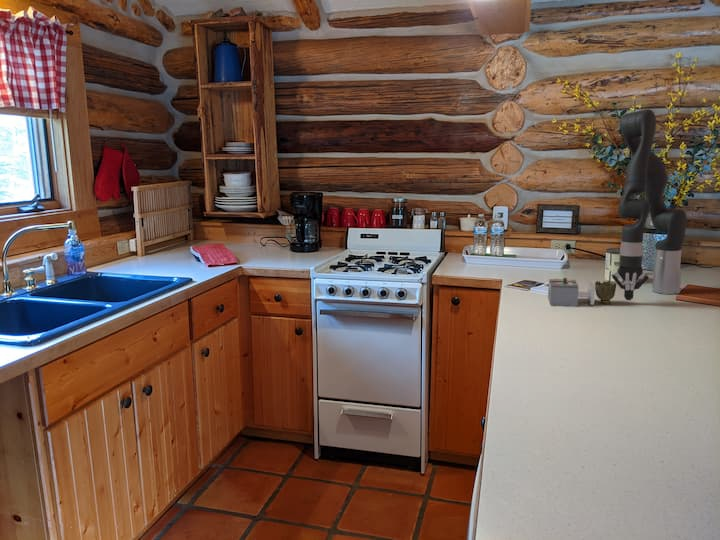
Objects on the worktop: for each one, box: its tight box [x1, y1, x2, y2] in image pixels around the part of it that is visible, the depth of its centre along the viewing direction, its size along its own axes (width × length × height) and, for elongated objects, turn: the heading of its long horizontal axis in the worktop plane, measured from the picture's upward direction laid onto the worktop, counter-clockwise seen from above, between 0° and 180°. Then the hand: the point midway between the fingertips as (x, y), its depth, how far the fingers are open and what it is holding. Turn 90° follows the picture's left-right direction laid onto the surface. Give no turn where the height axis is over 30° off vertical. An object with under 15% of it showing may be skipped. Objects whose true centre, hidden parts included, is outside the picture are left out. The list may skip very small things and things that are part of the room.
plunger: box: [565, 277, 596, 306], centre depth 220 cm, size 10×8×9 cm
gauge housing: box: [547, 278, 580, 307], centre depth 221 cm, size 10×12×8 cm
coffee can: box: [603, 247, 630, 285], centre depth 251 cm, size 10×10×14 cm
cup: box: [594, 280, 618, 305], centre depth 217 cm, size 8×7×8 cm
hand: (628, 299), depth 216 cm, fingers closed
